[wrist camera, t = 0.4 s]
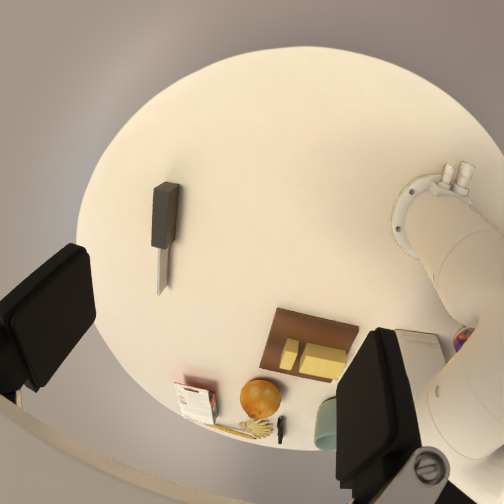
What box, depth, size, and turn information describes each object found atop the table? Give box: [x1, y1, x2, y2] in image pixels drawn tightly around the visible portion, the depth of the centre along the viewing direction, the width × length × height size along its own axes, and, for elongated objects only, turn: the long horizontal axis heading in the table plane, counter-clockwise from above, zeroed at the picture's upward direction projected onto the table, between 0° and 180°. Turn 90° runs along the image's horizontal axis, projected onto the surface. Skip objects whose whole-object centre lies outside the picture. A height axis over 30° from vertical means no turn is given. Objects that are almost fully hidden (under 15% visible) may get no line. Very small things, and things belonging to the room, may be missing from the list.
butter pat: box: [279, 338, 299, 370], centre depth 51 cm, size 4×2×3 cm, turn 170°
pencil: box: [204, 423, 256, 439], centre depth 69 cm, size 1×14×1 cm
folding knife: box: [277, 417, 283, 444], centre depth 64 cm, size 10×1×3 cm, turn 5°
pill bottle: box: [453, 327, 475, 352], centre depth 42 cm, size 5×5×10 cm
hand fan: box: [239, 419, 273, 439], centre depth 67 cm, size 12×9×2 cm
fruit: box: [240, 380, 281, 419], centre depth 57 cm, size 8×8×8 cm
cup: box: [314, 398, 336, 451], centre depth 55 cm, size 8×8×10 cm
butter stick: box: [299, 343, 346, 380], centre depth 50 cm, size 4×7×3 cm, turn 80°
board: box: [259, 308, 359, 383], centre depth 52 cm, size 14×14×1 cm
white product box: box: [395, 329, 446, 400], centre depth 43 cm, size 9×9×15 cm
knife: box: [151, 182, 179, 295], centre depth 46 cm, size 18×2×4 cm, turn 170°
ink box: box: [174, 382, 217, 425], centre depth 64 cm, size 4×8×15 cm
